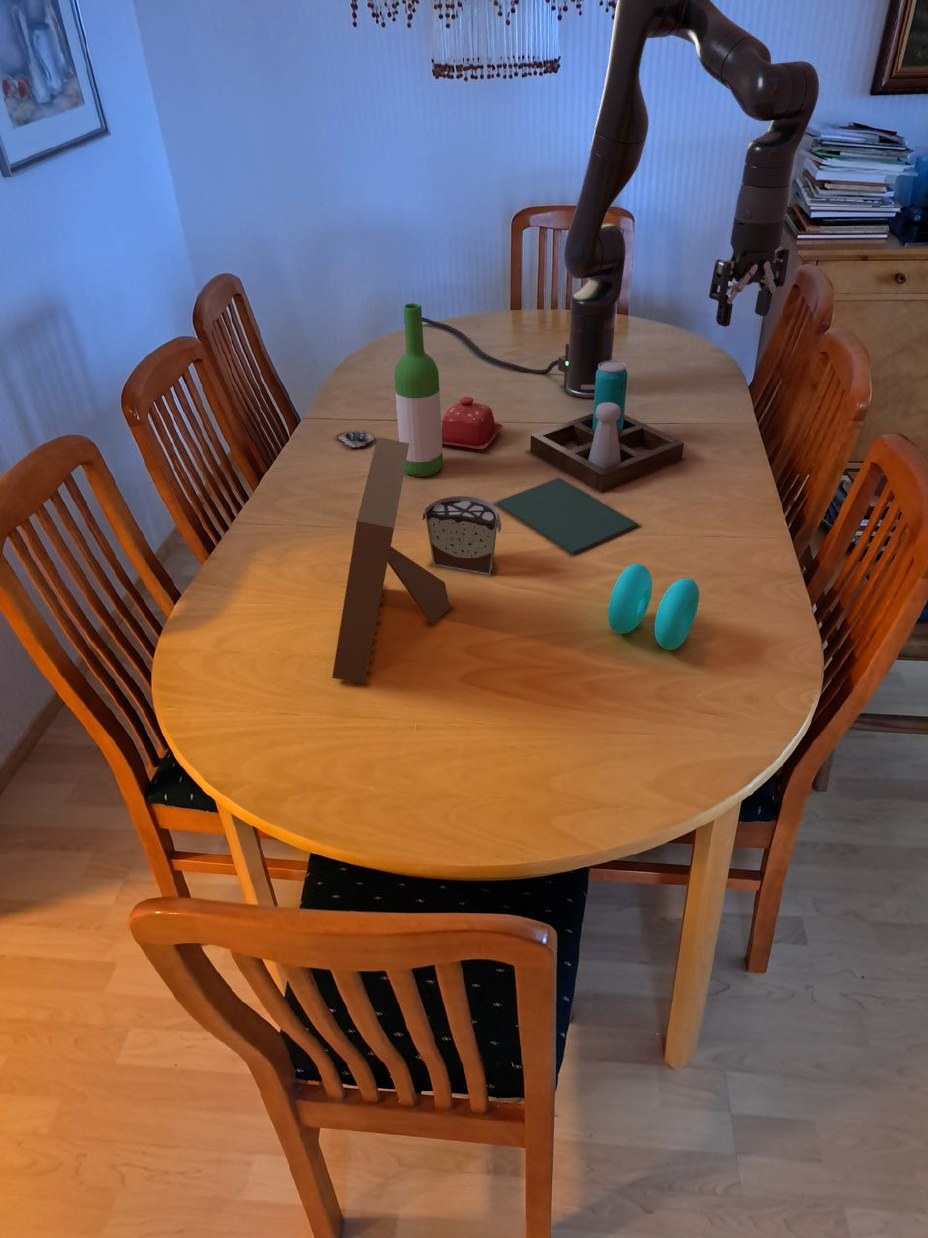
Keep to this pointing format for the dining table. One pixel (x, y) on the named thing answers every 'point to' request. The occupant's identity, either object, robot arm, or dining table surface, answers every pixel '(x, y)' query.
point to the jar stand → (633, 435)
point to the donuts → (634, 601)
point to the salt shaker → (606, 436)
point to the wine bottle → (418, 400)
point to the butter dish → (469, 425)
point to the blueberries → (356, 438)
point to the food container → (462, 533)
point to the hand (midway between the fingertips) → (742, 319)
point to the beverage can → (611, 388)
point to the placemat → (567, 515)
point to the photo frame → (379, 564)
